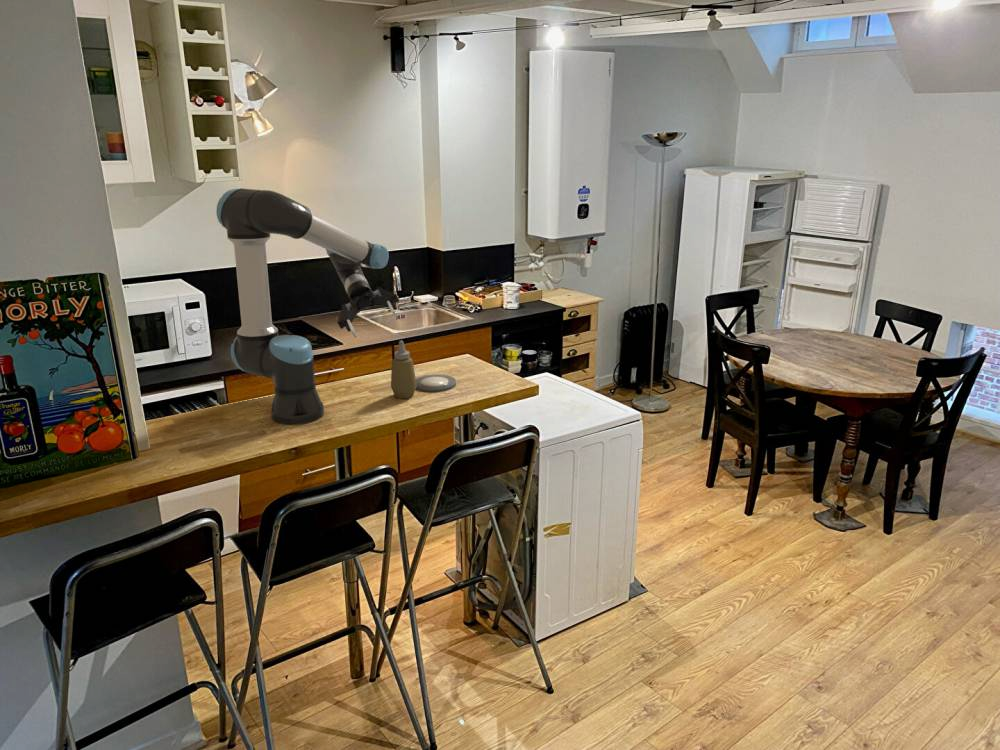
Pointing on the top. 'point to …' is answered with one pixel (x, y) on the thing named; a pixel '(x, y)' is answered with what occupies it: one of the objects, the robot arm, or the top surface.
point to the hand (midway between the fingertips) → (374, 324)
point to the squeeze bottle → (402, 373)
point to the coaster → (435, 383)
